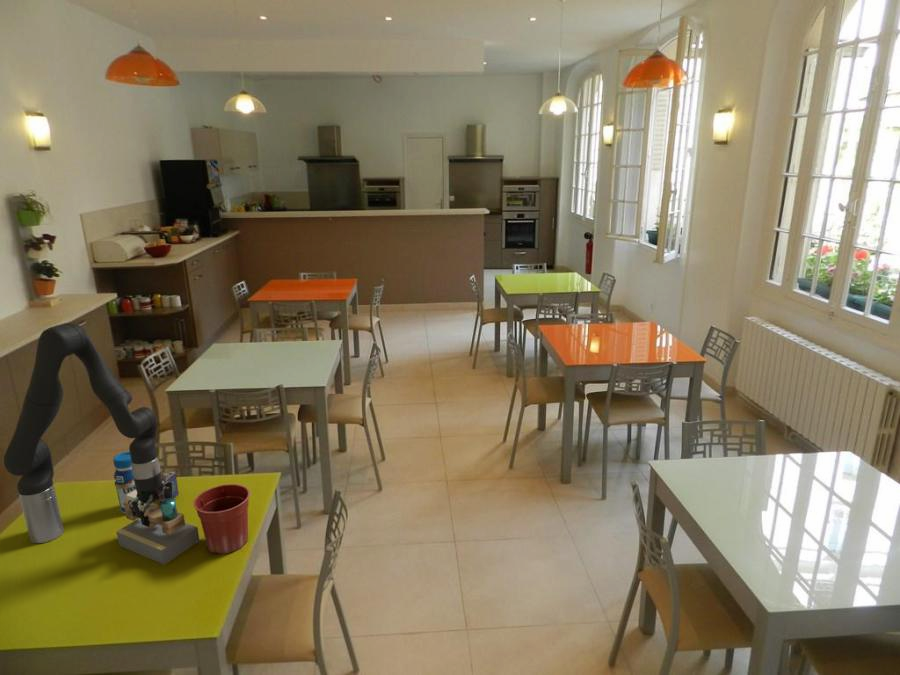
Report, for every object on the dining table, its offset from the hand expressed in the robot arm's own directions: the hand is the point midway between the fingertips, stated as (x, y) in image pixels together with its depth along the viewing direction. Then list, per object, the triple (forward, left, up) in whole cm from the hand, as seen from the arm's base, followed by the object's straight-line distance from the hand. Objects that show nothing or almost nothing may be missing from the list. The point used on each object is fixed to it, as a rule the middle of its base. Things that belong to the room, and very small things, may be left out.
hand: (155, 520), depth 188 cm
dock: (0, 0, -8) cm, 8 cm away
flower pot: (+19, +10, -9) cm, 23 cm away
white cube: (-8, 0, +3) cm, 8 cm away
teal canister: (+7, 0, +3) cm, 8 cm away
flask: (-19, +18, -9) cm, 28 cm away
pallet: (0, 0, -1) cm, 1 cm away
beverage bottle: (-26, +9, -8) cm, 29 cm away
